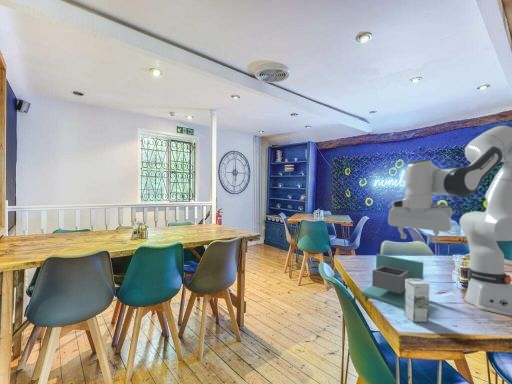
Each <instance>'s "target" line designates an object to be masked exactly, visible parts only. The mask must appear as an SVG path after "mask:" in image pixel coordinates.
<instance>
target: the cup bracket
mask: <svg viewBox="0 0 512 384" xmlns="http://www.w3.org/2000/svg"><path fill="white" fill-rule="evenodd" d="M375 256H376V260H375V261H376V262H375V263H376V264H375V265H376V266H375V269H374V268H373V270H372V274H371V275H372V279H371V280H372V283H371V286H369V287H366V288H365V289H364V290H362V291H361V296H364V297H367V298H371V299H374V300H377V301H380V302H383V303H387V304H390V305H393V306H397V307H398V308H399V307H400V308H403V309H404V304H405V279H422V280H424V262H423V261H418V260H413V259H412V260H411V259H407V258H402V257H397V256H396V257H395V256H390V255H385V254H379V253H377V254H376V255H375Z"/></svg>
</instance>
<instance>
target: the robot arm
mask: <svg viewBox="0 0 512 384" xmlns="http://www.w3.org/2000/svg"><path fill="white" fill-rule="evenodd" d="M464 148H465V149H464V155H465V158H466V160H467V161H468V162H469V163H470V164H469V165H467V166H462V167H455V168H454V167H453V168H441V167H438V166H436V165H435V164H434V163H433V162H432V160H431V159H421V160H415V161H414V160H413V161H411V162H409V163H408V164H407V166H406V170H405V178H404V179H405V180H404V181H405V183H404V185H405V188H406V189H405V193H404V198H402V199H398V200H394V201H391V203H390V207H391V208H390V209H389V211H388V218H387V223H388V225H389V226H390V227H397V230H398V232H399V234H400V239H402V240H406V239H407V236H408V234H407V233H405V232H404V231H403V230H404V228H410V229H418V230H419V229H420V230H430V231H432V233H433V236H430V237H428V238H429V239H428V242H429V243H431V244H436V238H437V237H438V236H439V234H440V232H450V231H451V230H452V227H453V225H452V217H453V208H452V207H451V206H449V205H447V204H439V203H433V201H434V199H433V198H434V196H435V195H437V196H454V197H455V196H456V197H461V198H462V197H463V198H465V197H469V196H471V195H473V194H474V193H475V192H476V191H477V189H478V188H479V186H480V185H481V183H482V182H483V180H485V178H486V177H487V176H489V174H490V173H491V172H492V171H494V169H495V168H496V167H498V165H499V164H500V163H503V165H502V166H501V168H500V169H499V170H498V171H497V173H496V174H495V175H494V178H493V179H492V182H490V185H489V187H488V189H487V190H486V192H485V195H484V199H485V200H486V201H487V203H486V209H485V211H476V210H475V211H474V210H473V211H470V212H466V213H464V214H462V216H461V217H460V218H459V227H461V229H462V231H463V232H464V235H465V237H466V239H467V240H466V241H467V243H468V249H469V267H468V270H467V280H468V284H467V288H466V289H467V290H466V293H465V296H464V298H463V299H464V301H466V302H467V303H468V304H471V305H472V306H475V307H476V308H478V309H479V310H482V311H486V312H492V313H497V314H502V315H506V316H510V317H512V284H511V282H512V278H511V276H510V274H507V273H506V272H505V254H504V252H503V250H502V249H501V248H500V247H499V245H498V242H511V241H512V126H508V125H497V126H494V127H492V128H490V129H488V130H486V131H484V132H482V133H481V134H479V135H478V136H476V137H475V138H473V139H472V140H471V141H470V142H469V143H467V145H466V146H465V147H464ZM433 195H434V196H433Z"/></svg>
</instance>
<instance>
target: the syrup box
mask: <svg viewBox="0 0 512 384" xmlns="http://www.w3.org/2000/svg"><path fill="white" fill-rule="evenodd" d="M429 304H430V284H429V283H428V282H427V281H426V280H424V279H423V280H422V279H405V304H404V308H403V311H404V312H403V315H404V317H405V318H407V319H408V320H410V322H412V323H429V310H430V309H429V307H430V306H429Z"/></svg>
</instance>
